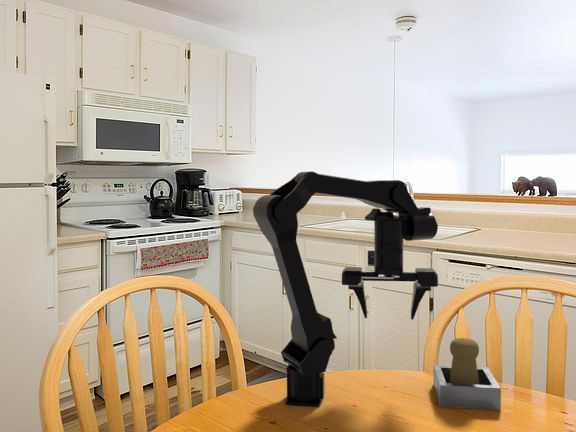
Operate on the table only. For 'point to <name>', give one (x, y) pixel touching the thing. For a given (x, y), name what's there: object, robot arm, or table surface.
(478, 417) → the table surface
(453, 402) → the open gray box
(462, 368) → the olive pawn
